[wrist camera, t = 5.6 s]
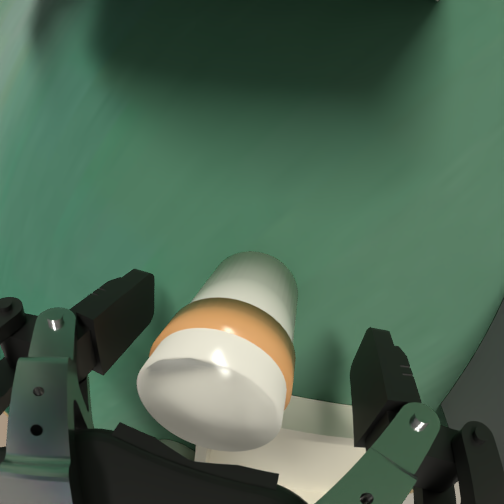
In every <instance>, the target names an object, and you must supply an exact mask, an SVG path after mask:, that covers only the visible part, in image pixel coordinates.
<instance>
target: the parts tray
mask: <svg viewBox="0 0 504 504" xmlns="http://www.w3.org/2000/svg"><path fill="white" fill-rule="evenodd" d="M365 453H366V448H361V447H354V434H353V413H352V406H351V405H344V404H337V403H331V402H325V401H319V400H313V399H308V398H303V397H297V396H293V395H291V399H290V402H289V404H288V406H287V408H286V409H285V410H284V413H283V420H282V426H281V428H280V431H279V433H278V434H277V436H276V437H275V438H274V439H273V440H272V441H270V442H269V443H267V444H266V445H264V446H262V447H259V448H256V449H252V450H248V451H238V452H228V451H218V450H213V449H208V448H204V447H201V446H198V445H196V450H195V461H196V462H205V463H216V464H232V465H240V466H245V467H249V468H253V469H258V470H262V471H267V472H272V473H278V474H279V478H278V483H277V484H278V485H281V486H283V487H285V488H287V489H289V490H291V491H293V492H294V493H296V494H297V495H299V496H300V497H301V498H302V499H304V500H305V501H306V502H307V503H308V504H314V503H316V502H317V501H318V500H319V499H320V498H321V497H322V496H323V495H324V494H326V493H327V492H328V491H329V490H330V489H331V488H332V487H333V486H334V485H335V484H336V483H337V482H338V481H339V480H340V479H341V478H342V477H343V476H344V475H345V474H346V473H347V472H348V471H349V470H350V469H351V468H352V467H353V466H354V465H355V464H356V463H357V462H358V461H359V459H360V458H361V457H362V456H363V455H364V454H365Z"/></svg>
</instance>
